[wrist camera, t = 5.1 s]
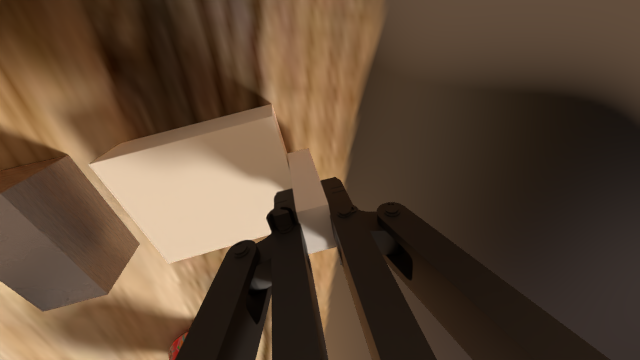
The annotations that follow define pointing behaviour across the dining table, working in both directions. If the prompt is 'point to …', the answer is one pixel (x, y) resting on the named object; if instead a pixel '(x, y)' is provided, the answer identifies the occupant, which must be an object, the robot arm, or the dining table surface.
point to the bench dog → (58, 235)
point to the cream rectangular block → (200, 181)
